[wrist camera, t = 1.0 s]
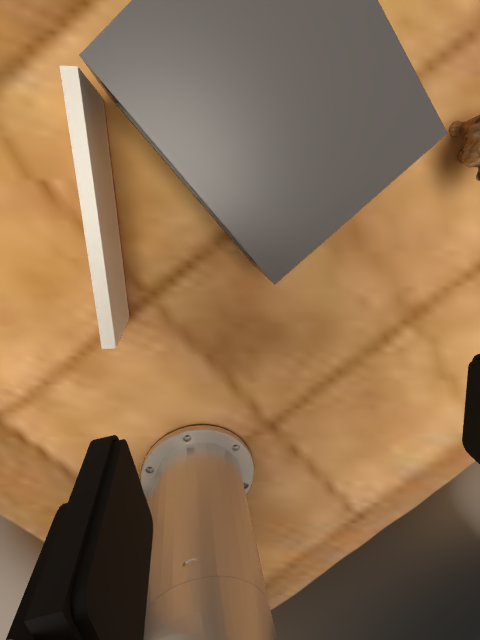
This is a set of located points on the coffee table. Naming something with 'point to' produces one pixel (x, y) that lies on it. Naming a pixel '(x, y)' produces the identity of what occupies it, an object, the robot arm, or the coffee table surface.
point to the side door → (97, 202)
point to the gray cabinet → (270, 110)
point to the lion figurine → (469, 142)
